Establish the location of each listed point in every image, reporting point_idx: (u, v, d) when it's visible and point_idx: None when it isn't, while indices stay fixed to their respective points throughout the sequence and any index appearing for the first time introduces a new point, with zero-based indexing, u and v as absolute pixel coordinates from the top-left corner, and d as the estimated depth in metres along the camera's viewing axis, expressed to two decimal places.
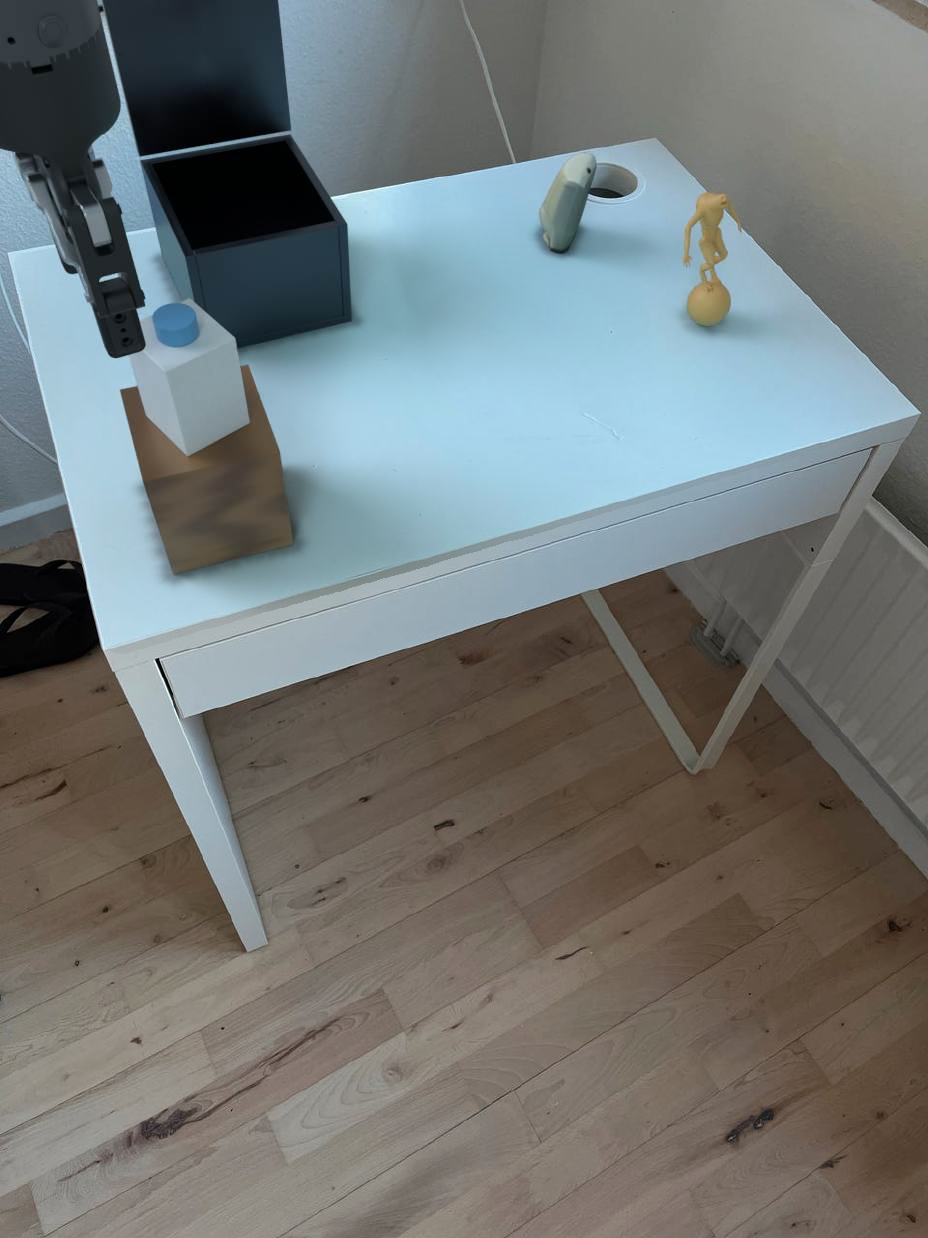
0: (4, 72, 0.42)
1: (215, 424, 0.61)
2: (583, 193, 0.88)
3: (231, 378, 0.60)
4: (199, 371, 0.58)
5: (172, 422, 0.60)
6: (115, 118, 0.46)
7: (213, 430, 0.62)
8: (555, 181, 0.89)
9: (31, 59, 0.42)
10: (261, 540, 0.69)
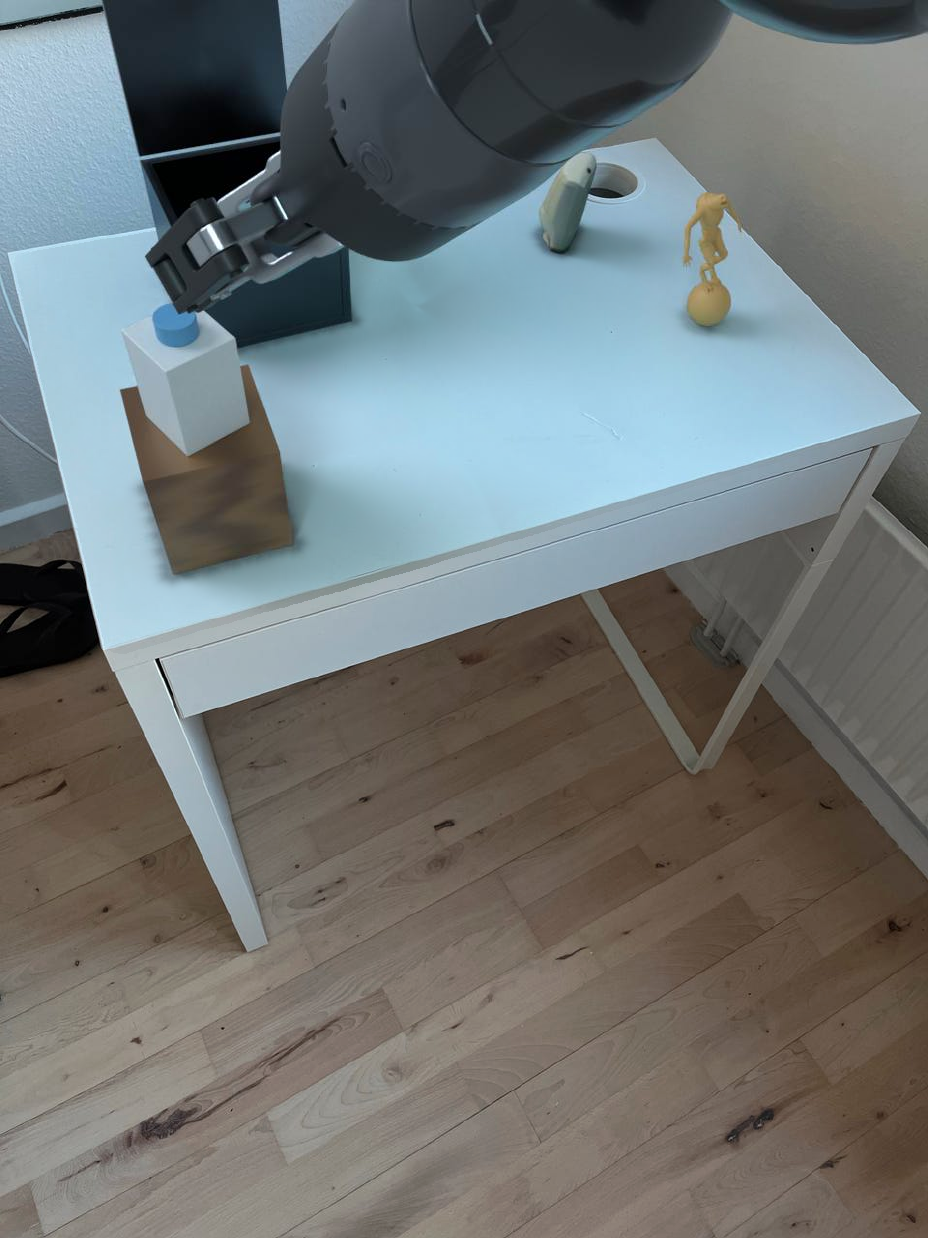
0: (321, 98, 0.29)
1: (215, 424, 0.61)
2: (583, 193, 0.88)
3: (231, 378, 0.60)
4: (199, 371, 0.58)
5: (172, 422, 0.60)
6: (368, 256, 0.34)
7: (213, 430, 0.62)
8: (555, 181, 0.89)
9: (338, 135, 0.29)
10: (261, 540, 0.69)
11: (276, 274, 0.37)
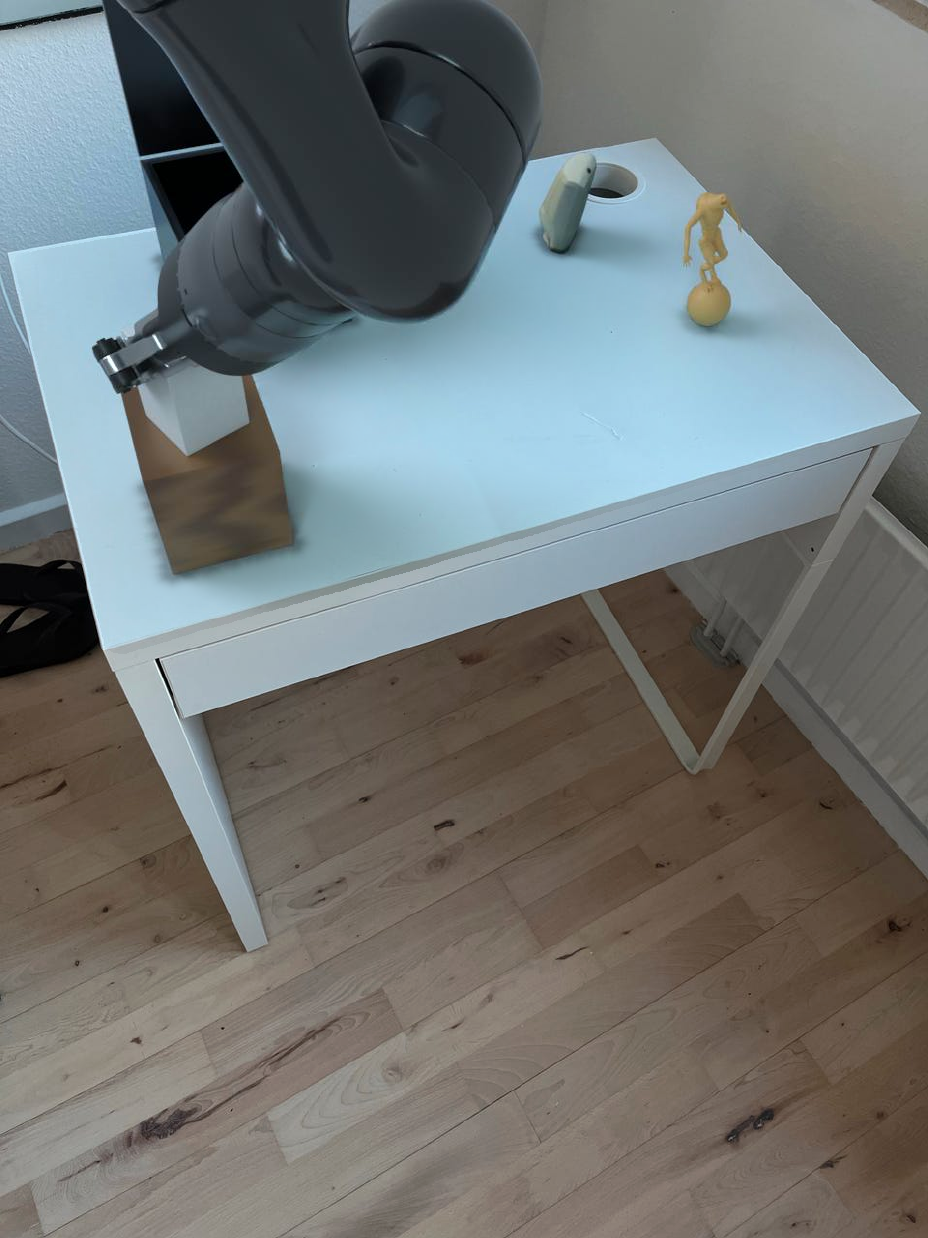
0: (175, 283, 0.45)
1: (214, 424, 0.61)
2: (583, 193, 0.88)
3: (231, 378, 0.60)
4: (198, 371, 0.58)
5: (172, 422, 0.60)
6: (220, 373, 0.50)
7: (213, 430, 0.62)
8: (555, 181, 0.89)
9: (185, 308, 0.45)
10: (261, 540, 0.69)
11: (173, 373, 0.54)
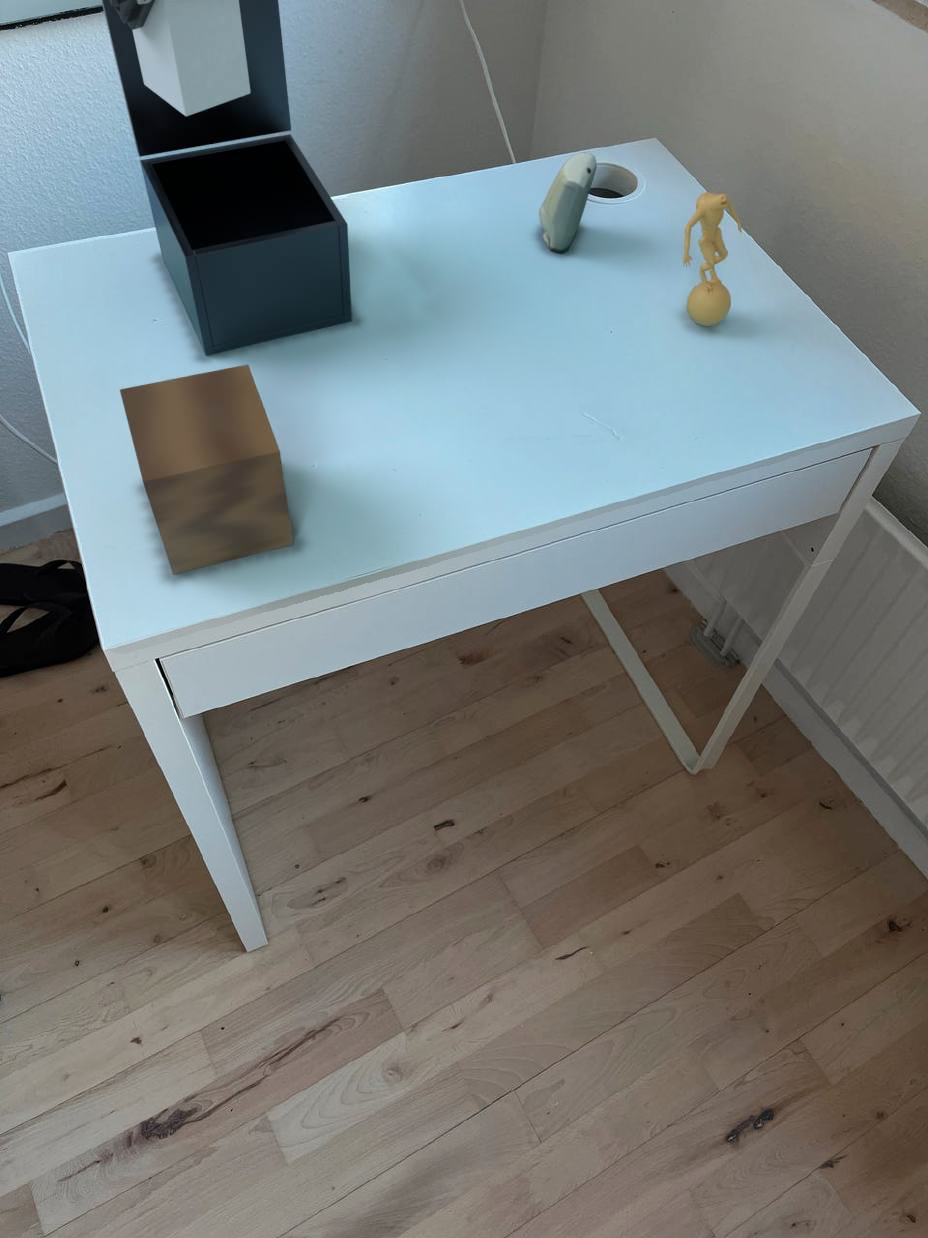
0: None
1: (214, 81, 0.60)
2: (583, 193, 0.88)
3: (231, 24, 0.58)
4: (197, 3, 0.56)
5: (170, 71, 0.58)
6: None
7: (212, 89, 0.60)
8: (555, 181, 0.89)
9: None
10: (261, 540, 0.69)
11: None
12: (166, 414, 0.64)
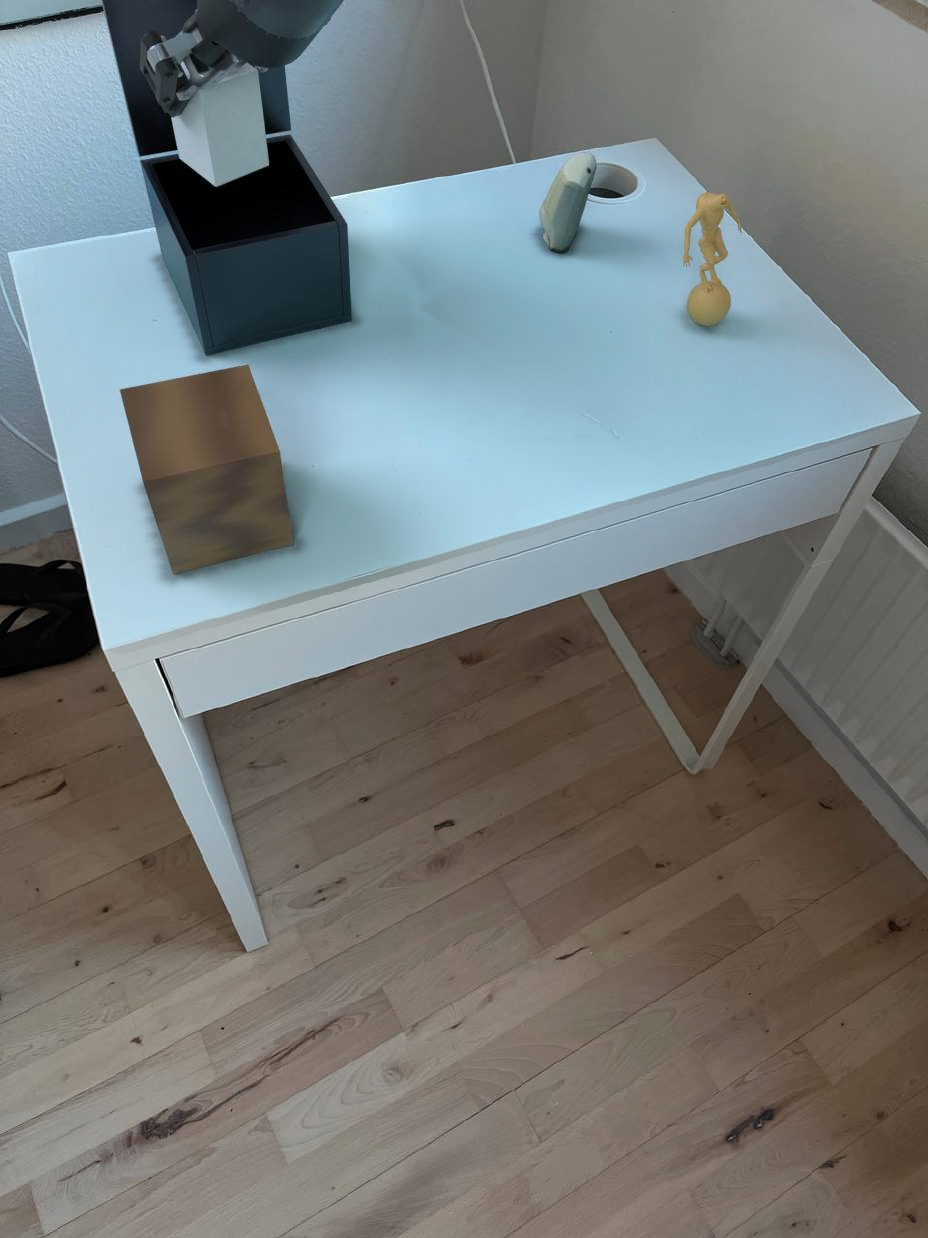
0: None
1: (239, 157, 0.71)
2: (583, 193, 0.88)
3: (254, 112, 0.70)
4: (226, 97, 0.67)
5: (203, 150, 0.70)
6: (248, 62, 0.59)
7: (238, 164, 0.71)
8: (555, 181, 0.89)
9: None
10: (261, 540, 0.69)
11: (206, 82, 0.63)
12: (166, 414, 0.64)
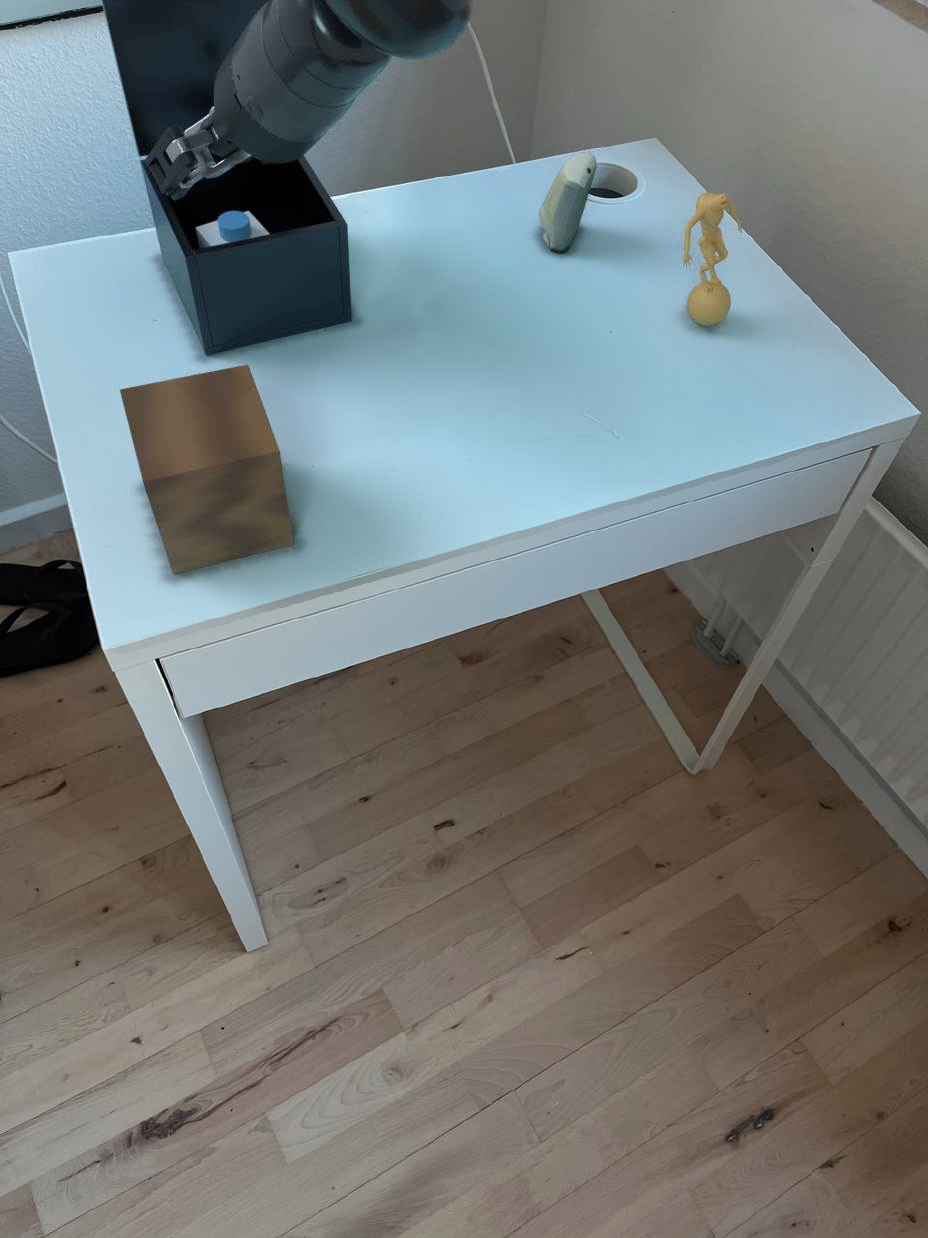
0: (230, 74, 0.60)
1: None
2: (583, 193, 0.88)
3: None
4: None
5: None
6: (260, 159, 0.65)
7: None
8: (555, 181, 0.89)
9: (237, 92, 0.60)
10: (261, 540, 0.69)
11: (215, 172, 0.68)
12: (166, 414, 0.64)
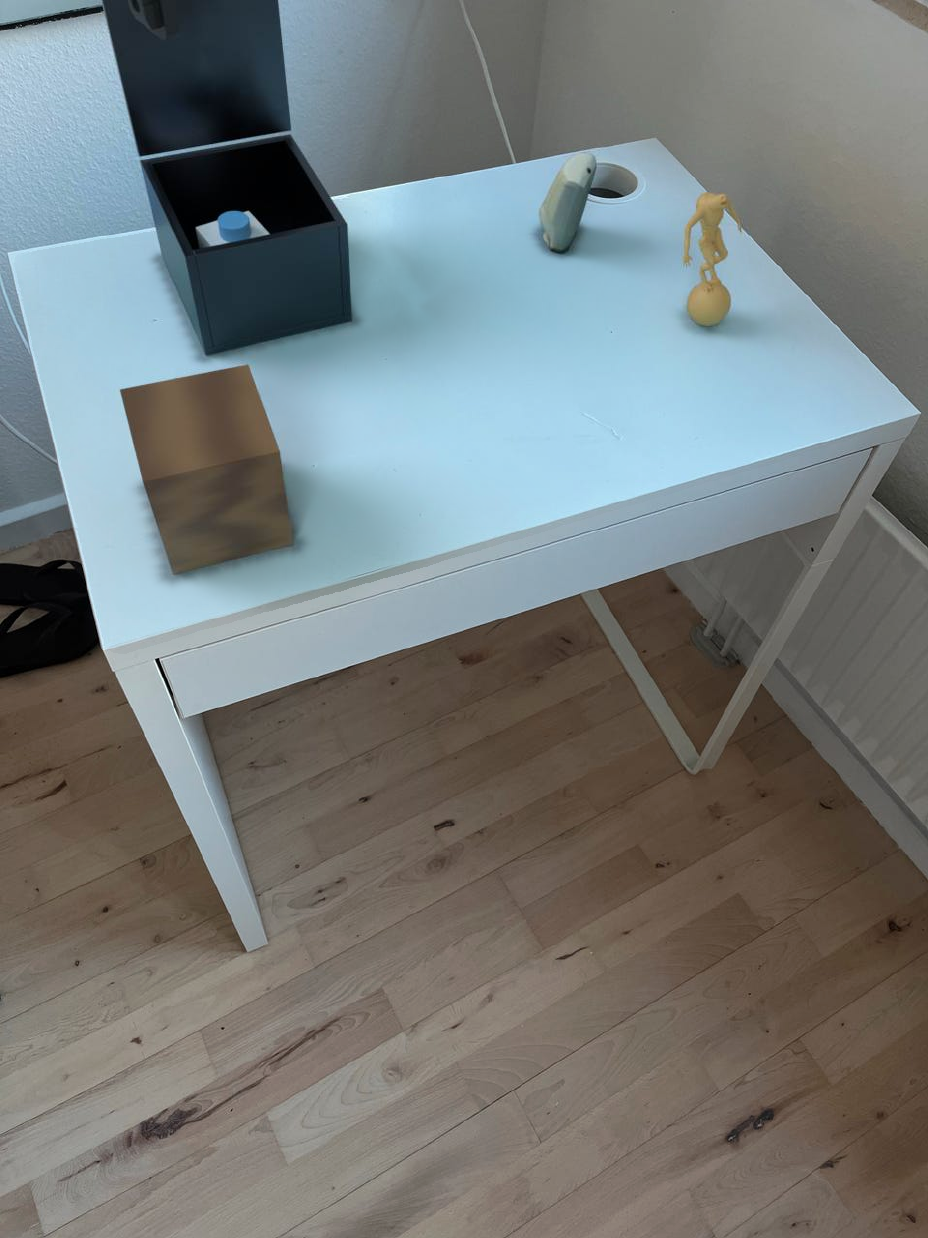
0: None
1: None
2: (583, 193, 0.88)
3: None
4: None
5: None
6: None
7: None
8: (555, 181, 0.89)
9: None
10: (261, 540, 0.69)
11: None
12: (166, 414, 0.64)
